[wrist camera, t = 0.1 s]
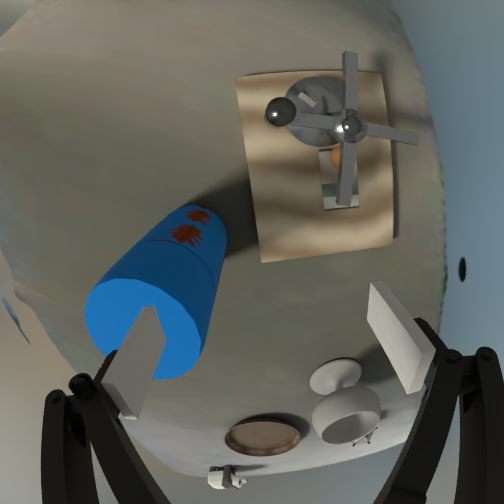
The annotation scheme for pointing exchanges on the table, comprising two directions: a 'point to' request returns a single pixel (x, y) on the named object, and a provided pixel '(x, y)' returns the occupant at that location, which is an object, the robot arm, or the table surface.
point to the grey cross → (331, 119)
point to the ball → (335, 157)
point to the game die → (363, 439)
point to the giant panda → (225, 478)
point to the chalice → (343, 403)
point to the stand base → (314, 176)
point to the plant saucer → (262, 437)
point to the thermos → (164, 287)
